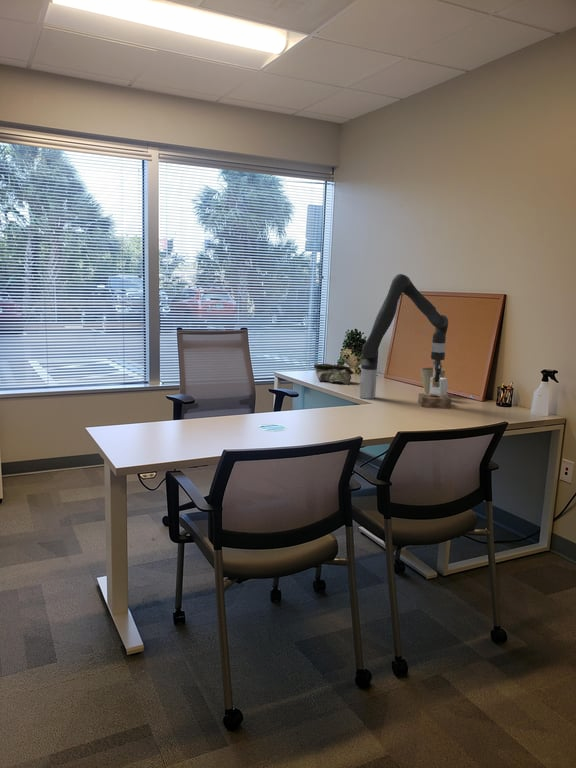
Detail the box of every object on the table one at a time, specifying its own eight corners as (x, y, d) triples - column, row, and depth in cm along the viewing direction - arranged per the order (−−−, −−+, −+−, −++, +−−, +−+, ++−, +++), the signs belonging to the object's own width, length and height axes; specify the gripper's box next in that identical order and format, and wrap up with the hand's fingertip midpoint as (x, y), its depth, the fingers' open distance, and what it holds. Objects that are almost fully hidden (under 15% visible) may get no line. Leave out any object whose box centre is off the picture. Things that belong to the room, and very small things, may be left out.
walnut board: (421, 406, 321) (422, 398, 320) (418, 401, 335) (418, 393, 334) (450, 408, 320) (451, 399, 319) (446, 403, 334) (446, 394, 333)
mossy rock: (312, 387, 399) (307, 373, 388) (318, 372, 406) (312, 359, 395) (351, 390, 388) (346, 376, 377) (356, 375, 394) (351, 361, 383)
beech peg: (432, 387, 324) (433, 369, 322) (431, 386, 328) (432, 368, 326) (440, 387, 324) (441, 369, 322) (438, 386, 328) (440, 368, 326)
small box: (446, 400, 344) (448, 378, 341) (439, 401, 340) (441, 379, 337) (435, 397, 350) (436, 376, 348) (428, 398, 346) (430, 377, 344)
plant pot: (427, 391, 372) (429, 366, 369) (447, 394, 362) (449, 369, 359) (414, 393, 361) (416, 368, 359) (435, 397, 351) (437, 371, 348)
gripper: (429, 349, 330) (427, 379, 332) (433, 352, 316) (431, 383, 318) (442, 349, 329) (440, 379, 332) (447, 352, 315) (445, 383, 318)
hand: (436, 381), depth 325 cm, fingers closed on beech peg, 4 cm apart
